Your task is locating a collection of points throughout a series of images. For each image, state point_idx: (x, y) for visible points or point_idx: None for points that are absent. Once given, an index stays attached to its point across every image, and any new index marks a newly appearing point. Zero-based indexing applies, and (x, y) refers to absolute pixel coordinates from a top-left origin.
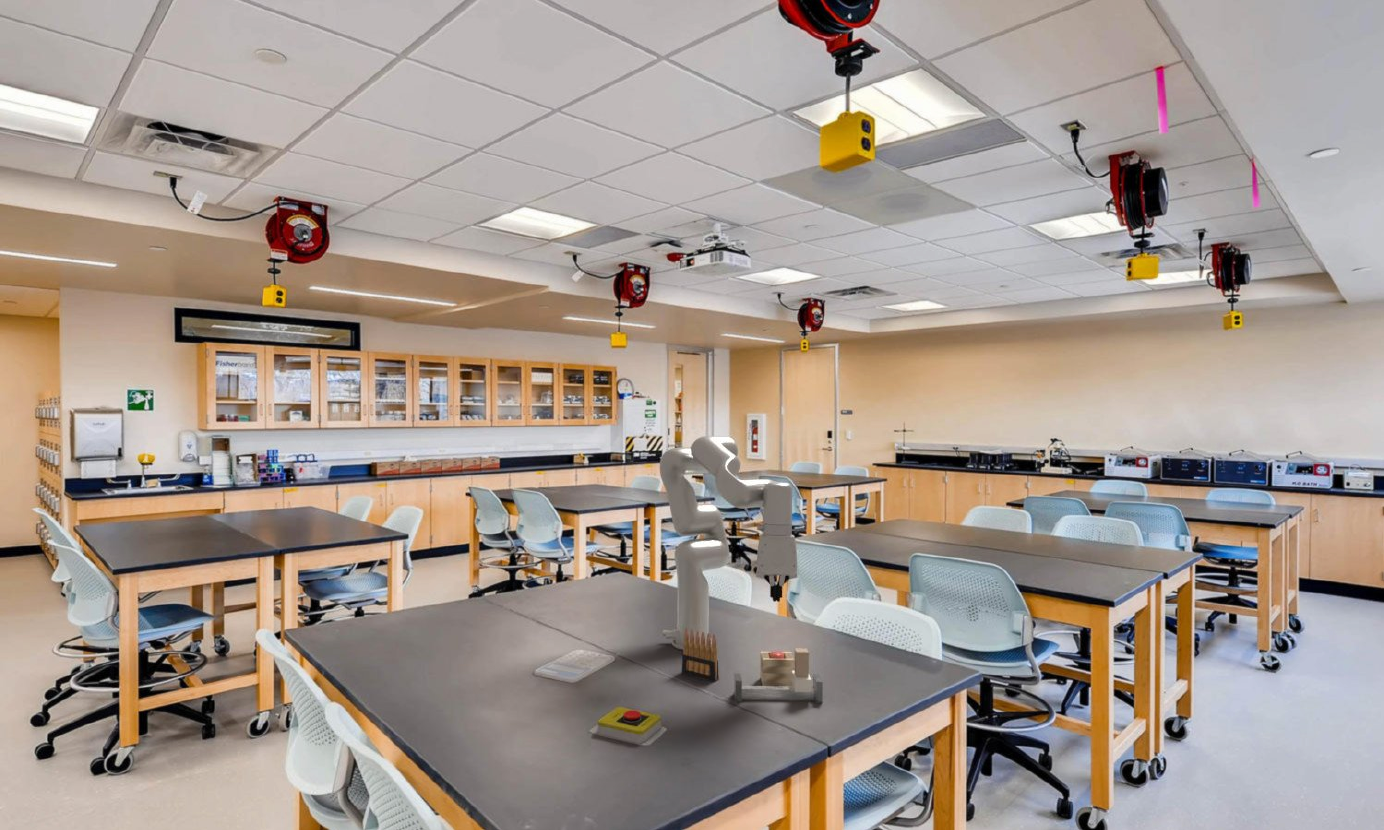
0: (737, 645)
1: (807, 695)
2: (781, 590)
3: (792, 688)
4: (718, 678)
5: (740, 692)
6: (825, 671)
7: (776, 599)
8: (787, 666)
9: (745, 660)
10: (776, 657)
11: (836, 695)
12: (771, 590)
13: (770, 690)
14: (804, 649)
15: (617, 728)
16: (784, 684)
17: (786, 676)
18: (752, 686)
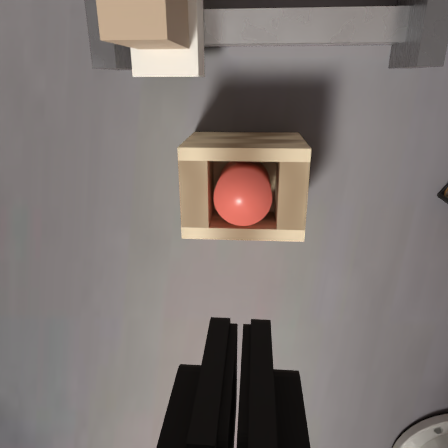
0: (320, 445)
1: None
2: (175, 417)
3: (207, 21)
4: (438, 195)
5: None
6: (87, 261)
7: (243, 329)
8: (209, 142)
9: (316, 344)
10: (249, 168)
11: (63, 64)
12: (299, 423)
13: (293, 8)
14: (114, 20)
15: None
16: (225, 133)
17: (216, 137)
18: (359, 38)
